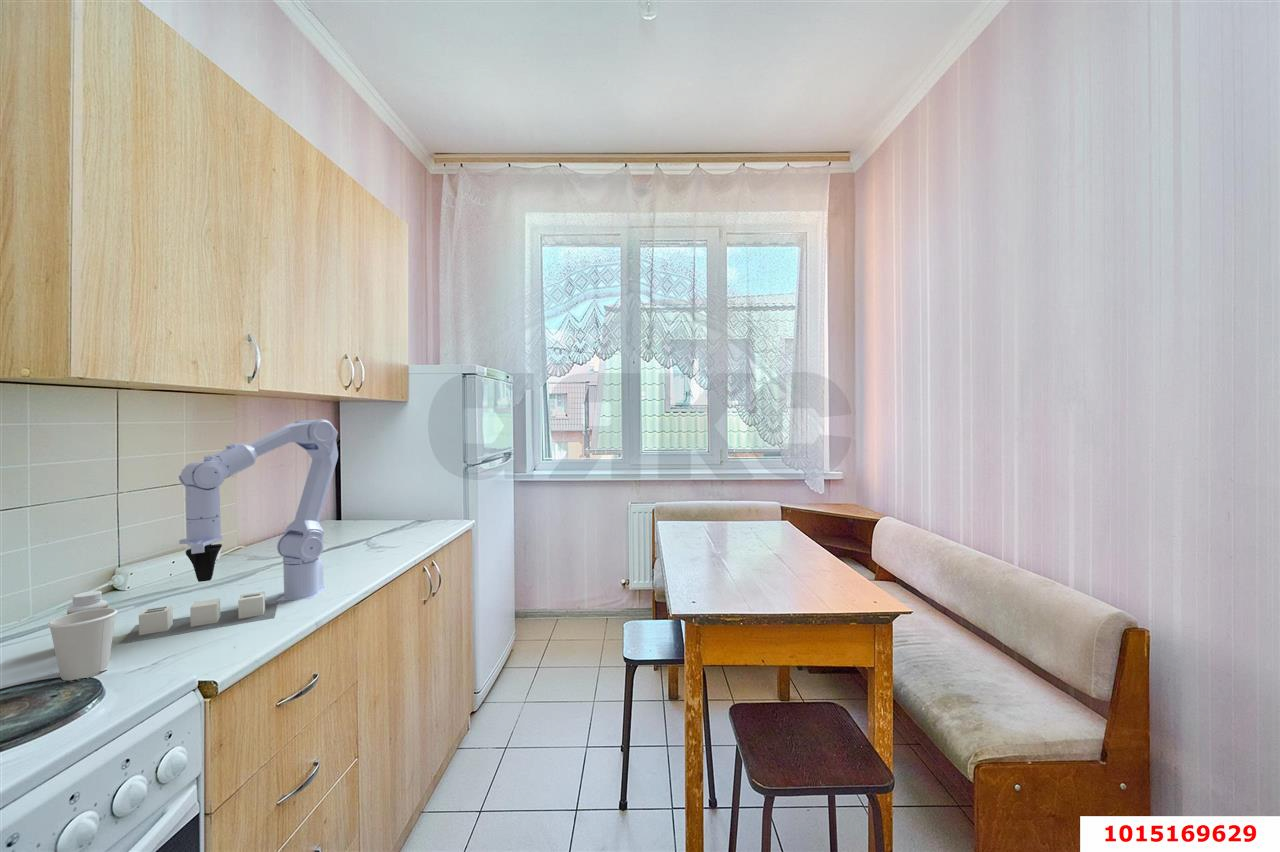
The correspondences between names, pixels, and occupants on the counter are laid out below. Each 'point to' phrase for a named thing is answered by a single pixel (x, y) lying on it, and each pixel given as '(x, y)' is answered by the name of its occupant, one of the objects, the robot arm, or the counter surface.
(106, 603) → the supplement bottle
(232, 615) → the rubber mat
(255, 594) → the one bar block
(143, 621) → the two bar block
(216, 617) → the plain block
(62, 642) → the dixie cup
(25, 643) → the counter surface
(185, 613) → the counter surface
